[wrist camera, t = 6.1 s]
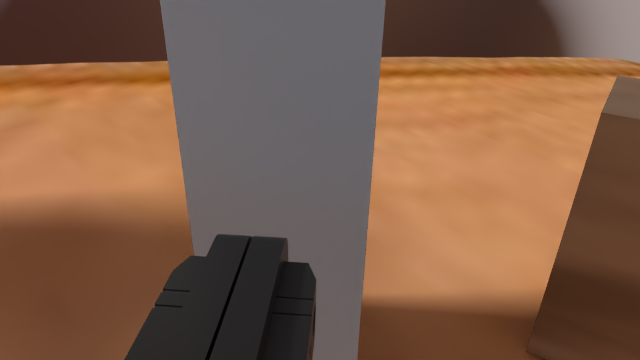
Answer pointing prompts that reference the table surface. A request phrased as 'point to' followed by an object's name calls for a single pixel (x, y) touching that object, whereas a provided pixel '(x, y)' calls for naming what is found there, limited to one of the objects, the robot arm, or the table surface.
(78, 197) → the table surface
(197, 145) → the bluegrey block
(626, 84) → the walnut block
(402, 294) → the table surface
